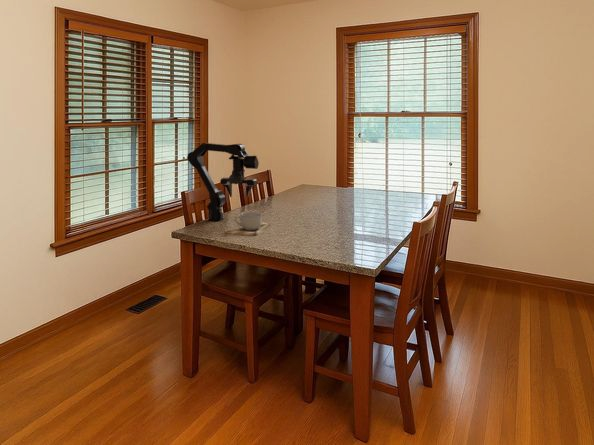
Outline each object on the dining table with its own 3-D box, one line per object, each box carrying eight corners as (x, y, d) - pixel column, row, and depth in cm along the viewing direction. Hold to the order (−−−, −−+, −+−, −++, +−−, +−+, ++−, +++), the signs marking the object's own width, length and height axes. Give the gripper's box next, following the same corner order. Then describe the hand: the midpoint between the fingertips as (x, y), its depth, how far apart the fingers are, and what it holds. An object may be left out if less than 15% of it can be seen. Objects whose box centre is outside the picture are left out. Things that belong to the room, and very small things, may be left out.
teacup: (259, 226, 235) (259, 210, 234) (264, 231, 225) (263, 215, 223) (232, 227, 232) (232, 212, 230) (235, 232, 222) (235, 216, 220)
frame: (225, 233, 220) (224, 230, 220) (240, 223, 240) (240, 221, 239) (256, 235, 217) (256, 233, 216) (269, 225, 236) (269, 223, 235)
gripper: (215, 169, 233) (216, 199, 237) (249, 170, 228) (250, 201, 232) (224, 166, 244) (225, 195, 247) (257, 168, 239) (257, 197, 243)
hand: (239, 197), depth 242 cm, fingers open, 9 cm apart
